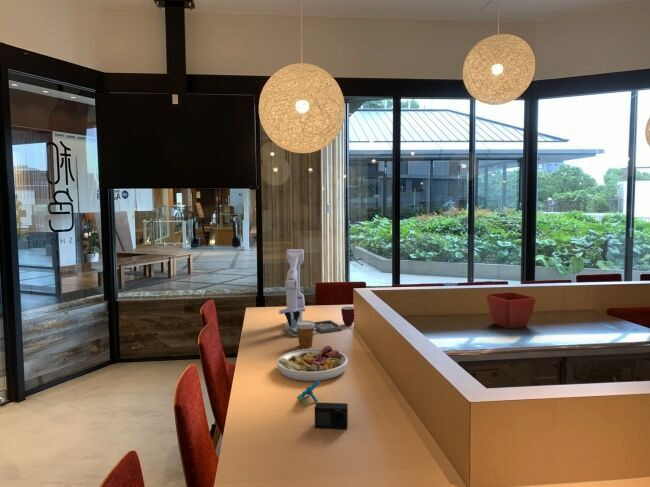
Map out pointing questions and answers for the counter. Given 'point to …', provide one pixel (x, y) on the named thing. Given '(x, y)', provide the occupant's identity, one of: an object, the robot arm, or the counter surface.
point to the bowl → (312, 364)
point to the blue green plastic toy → (308, 391)
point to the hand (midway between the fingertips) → (292, 325)
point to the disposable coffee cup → (305, 333)
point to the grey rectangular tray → (327, 326)
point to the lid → (293, 325)
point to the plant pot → (510, 309)
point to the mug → (348, 315)
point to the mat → (294, 332)
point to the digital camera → (331, 415)
